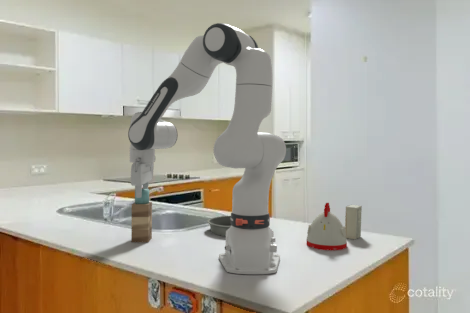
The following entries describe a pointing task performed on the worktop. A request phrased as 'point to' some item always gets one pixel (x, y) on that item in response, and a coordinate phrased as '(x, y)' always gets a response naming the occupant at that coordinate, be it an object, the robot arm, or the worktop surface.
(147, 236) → the tower block
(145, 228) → the tower block
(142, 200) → the teal cube
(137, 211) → the tower block
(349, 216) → the skincare box
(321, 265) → the worktop surface
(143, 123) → the robot arm
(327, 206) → the kitchen timer
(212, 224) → the cake pan
